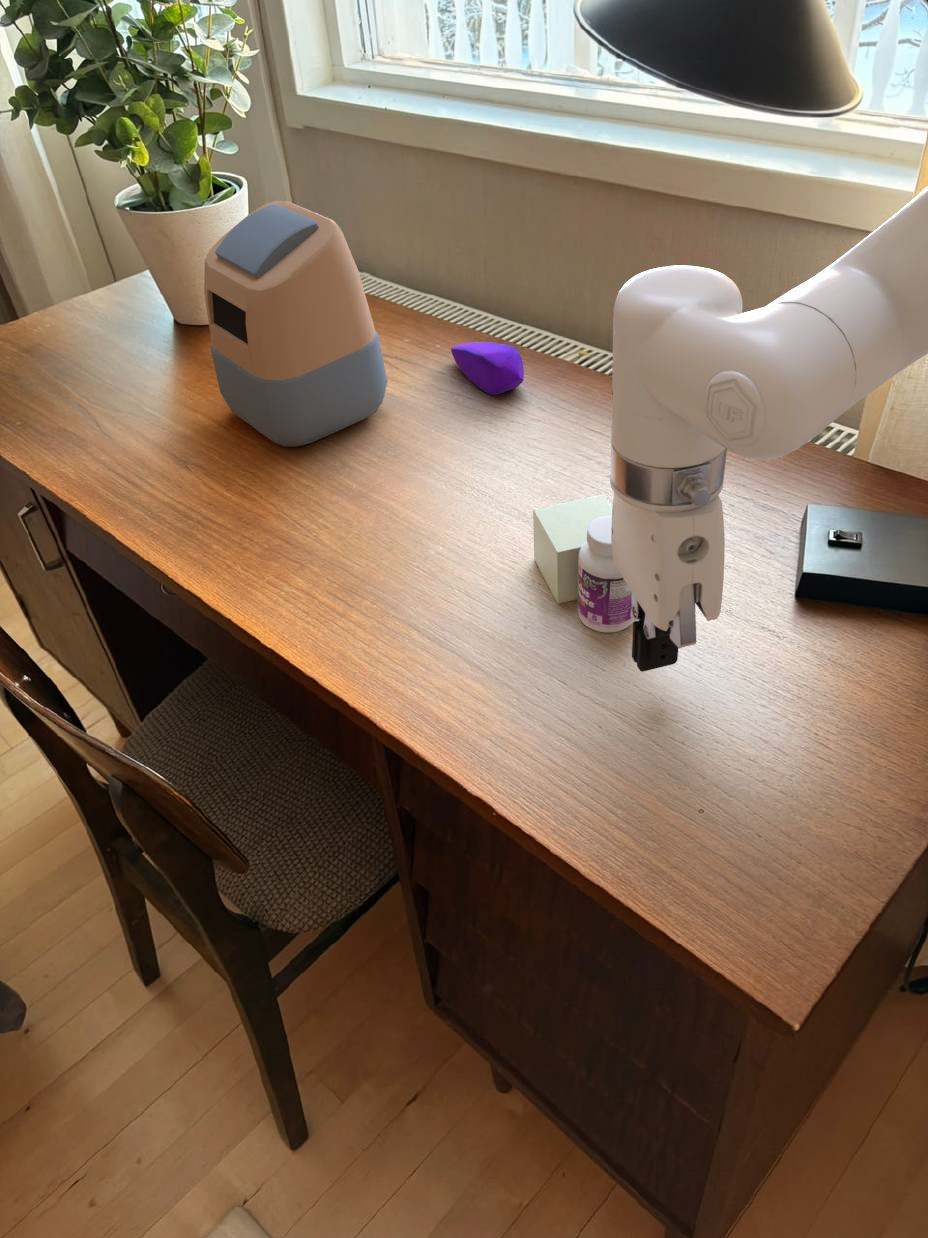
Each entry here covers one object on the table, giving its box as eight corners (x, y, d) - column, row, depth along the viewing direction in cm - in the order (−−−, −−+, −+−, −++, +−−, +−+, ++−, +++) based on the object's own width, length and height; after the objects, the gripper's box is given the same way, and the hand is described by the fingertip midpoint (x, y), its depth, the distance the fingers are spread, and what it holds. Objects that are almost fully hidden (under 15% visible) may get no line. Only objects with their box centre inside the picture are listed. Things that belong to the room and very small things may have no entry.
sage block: (629, 587, 87) (632, 535, 83) (557, 604, 86) (557, 552, 82) (602, 544, 92) (604, 493, 88) (534, 559, 91) (532, 508, 87)
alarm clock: (216, 414, 117) (164, 224, 102) (329, 368, 125) (295, 184, 109) (285, 466, 107) (237, 263, 92) (403, 412, 114) (377, 216, 99)
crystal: (464, 325, 123) (536, 352, 112) (469, 361, 125) (539, 391, 115) (434, 336, 121) (503, 365, 110) (439, 372, 124) (508, 404, 113)
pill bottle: (565, 609, 86) (565, 523, 79) (613, 588, 87) (617, 502, 81) (600, 643, 82) (603, 556, 76) (649, 620, 84) (656, 533, 77)
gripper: (774, 510, 58) (741, 715, 70) (673, 401, 69) (660, 594, 81) (659, 536, 57) (646, 740, 69) (576, 421, 68) (577, 614, 80)
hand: (654, 661), depth 75 cm, fingers closed
